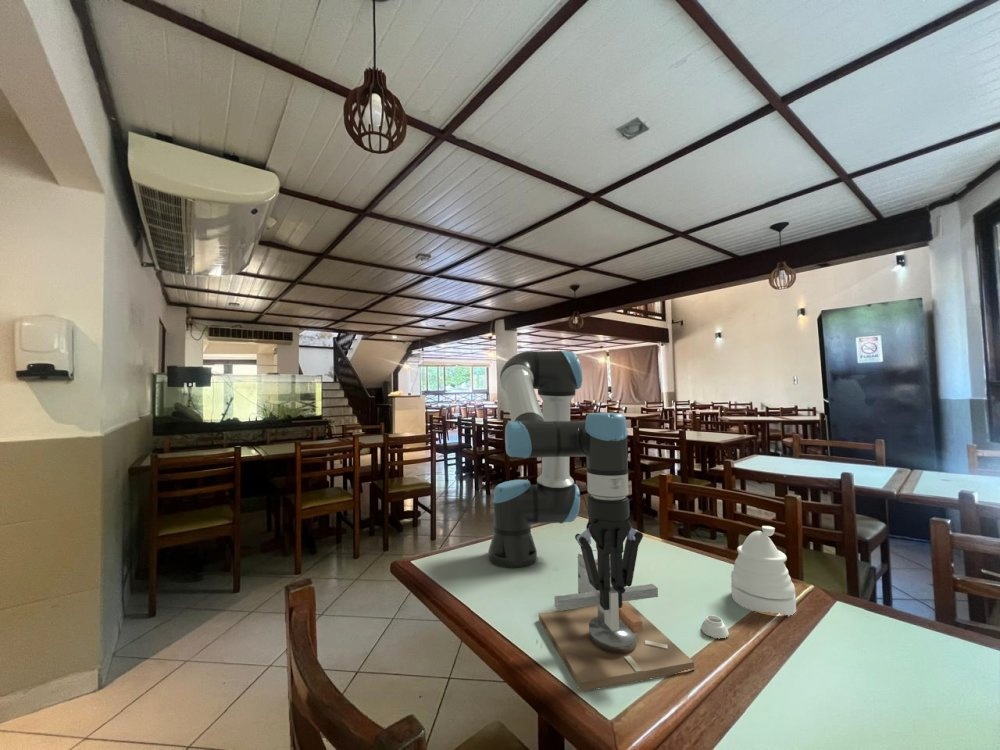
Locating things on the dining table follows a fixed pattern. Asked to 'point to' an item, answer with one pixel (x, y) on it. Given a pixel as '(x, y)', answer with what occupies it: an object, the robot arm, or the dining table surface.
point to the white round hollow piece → (714, 627)
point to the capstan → (598, 629)
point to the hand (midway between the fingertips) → (611, 626)
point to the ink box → (581, 565)
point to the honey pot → (762, 576)
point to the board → (606, 667)
